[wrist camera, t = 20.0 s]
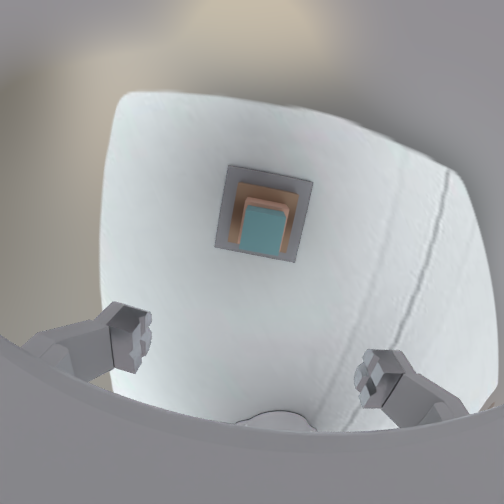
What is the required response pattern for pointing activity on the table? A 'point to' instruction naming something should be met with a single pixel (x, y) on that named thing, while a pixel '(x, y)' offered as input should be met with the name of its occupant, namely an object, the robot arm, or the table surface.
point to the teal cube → (262, 230)
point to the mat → (268, 181)
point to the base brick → (264, 194)
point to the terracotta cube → (264, 204)
